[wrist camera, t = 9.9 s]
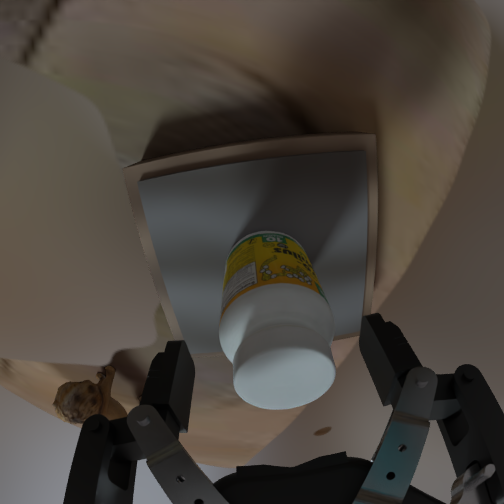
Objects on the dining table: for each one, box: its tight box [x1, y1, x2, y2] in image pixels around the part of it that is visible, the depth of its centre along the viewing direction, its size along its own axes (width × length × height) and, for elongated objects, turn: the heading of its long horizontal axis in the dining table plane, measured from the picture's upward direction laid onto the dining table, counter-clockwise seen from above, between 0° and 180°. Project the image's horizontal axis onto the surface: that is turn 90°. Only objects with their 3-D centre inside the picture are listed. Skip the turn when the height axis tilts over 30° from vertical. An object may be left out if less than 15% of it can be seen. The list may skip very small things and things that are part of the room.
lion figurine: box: [53, 365, 142, 424], centre depth 26 cm, size 15×5×9 cm, turn 35°
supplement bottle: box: [219, 231, 336, 409], centre depth 14 cm, size 5×5×10 cm
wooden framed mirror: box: [123, 132, 378, 358], centre depth 21 cm, size 16×16×4 cm
